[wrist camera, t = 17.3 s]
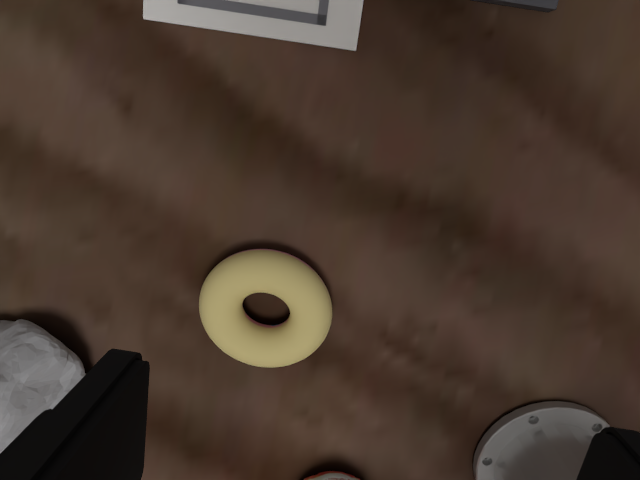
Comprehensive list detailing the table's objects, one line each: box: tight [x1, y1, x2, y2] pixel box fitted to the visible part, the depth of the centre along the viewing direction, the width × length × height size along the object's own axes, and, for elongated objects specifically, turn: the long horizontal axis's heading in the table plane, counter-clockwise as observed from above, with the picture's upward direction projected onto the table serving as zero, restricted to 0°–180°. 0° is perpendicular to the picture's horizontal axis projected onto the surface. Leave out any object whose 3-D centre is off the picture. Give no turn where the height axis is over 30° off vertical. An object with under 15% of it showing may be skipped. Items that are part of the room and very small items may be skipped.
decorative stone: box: [0, 319, 86, 453], centre depth 35 cm, size 17×10×10 cm
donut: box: [199, 249, 332, 367], centre depth 34 cm, size 10×5×9 cm
